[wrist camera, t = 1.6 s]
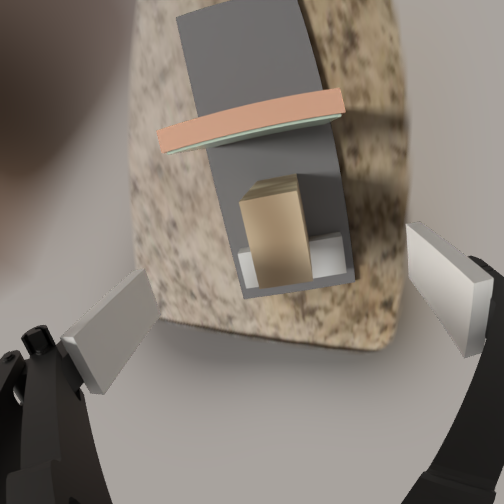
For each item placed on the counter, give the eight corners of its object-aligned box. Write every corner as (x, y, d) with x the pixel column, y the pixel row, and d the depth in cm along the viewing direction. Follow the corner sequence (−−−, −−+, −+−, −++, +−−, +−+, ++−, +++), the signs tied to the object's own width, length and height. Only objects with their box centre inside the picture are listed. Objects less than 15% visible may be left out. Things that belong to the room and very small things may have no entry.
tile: (323, 106, 21) (340, 87, 13) (327, 123, 22) (346, 115, 13) (205, 131, 23) (156, 130, 15) (209, 148, 23) (162, 156, 15)
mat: (293, -10, 18) (292, -13, 18) (354, 279, 26) (355, 281, 25) (177, 19, 20) (175, 17, 20) (244, 296, 28) (243, 299, 27)
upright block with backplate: (329, 167, 23) (345, 182, 15) (344, 266, 25) (361, 319, 18) (225, 187, 24) (193, 211, 17) (248, 282, 27) (230, 337, 19)
